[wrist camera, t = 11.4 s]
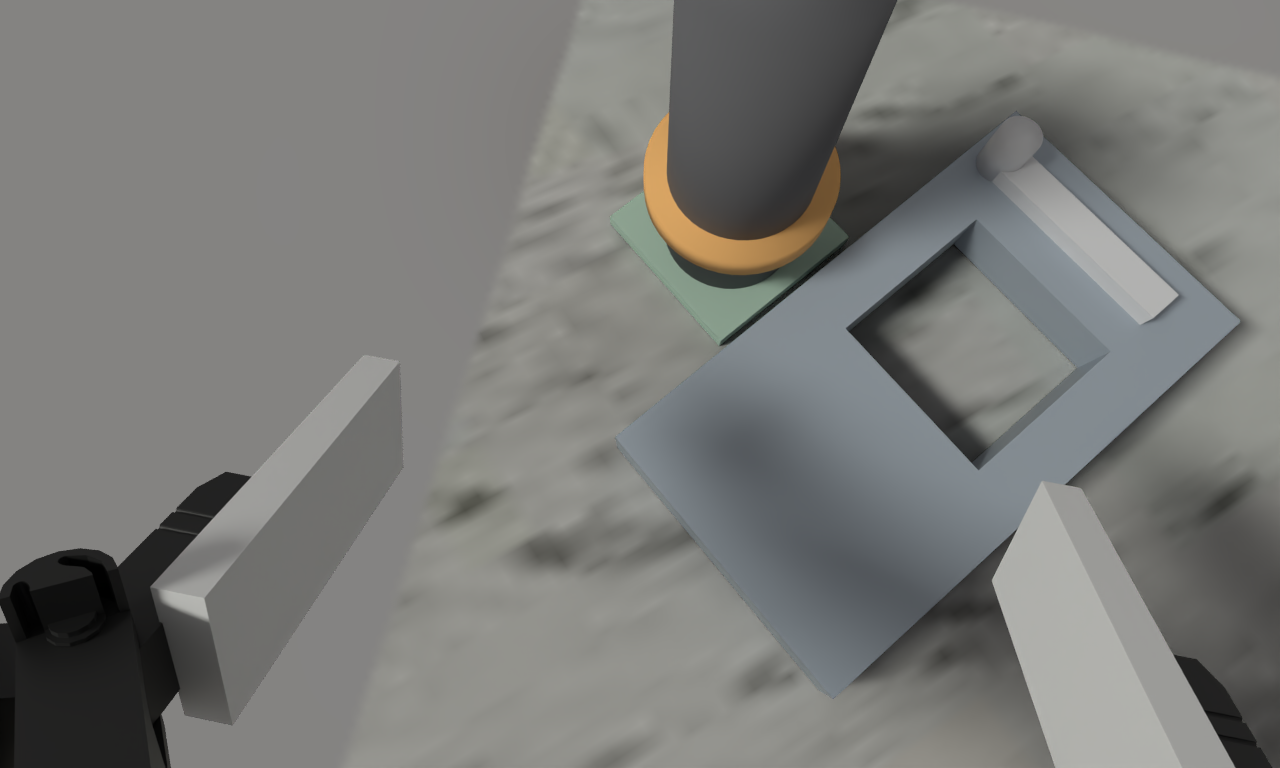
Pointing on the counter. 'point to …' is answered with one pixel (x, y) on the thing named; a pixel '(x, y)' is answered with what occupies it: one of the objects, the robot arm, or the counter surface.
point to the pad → (706, 303)
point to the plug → (755, 130)
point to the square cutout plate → (915, 405)
